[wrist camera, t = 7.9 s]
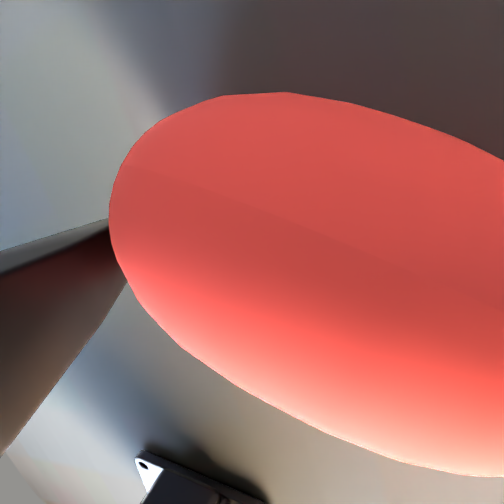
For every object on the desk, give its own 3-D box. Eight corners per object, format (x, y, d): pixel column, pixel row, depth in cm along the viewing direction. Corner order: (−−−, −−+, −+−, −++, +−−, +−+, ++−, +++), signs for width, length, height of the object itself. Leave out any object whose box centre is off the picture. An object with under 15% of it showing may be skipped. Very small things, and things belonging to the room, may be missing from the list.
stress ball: (331, -85, 9) (-13, 53, 6) (909, 276, 5) (564, 814, 3) (299, 128, 13) (90, 249, 11) (595, 396, 10) (370, 647, 8)
